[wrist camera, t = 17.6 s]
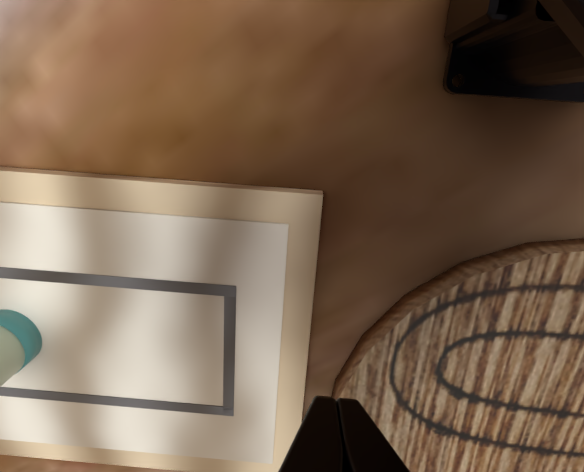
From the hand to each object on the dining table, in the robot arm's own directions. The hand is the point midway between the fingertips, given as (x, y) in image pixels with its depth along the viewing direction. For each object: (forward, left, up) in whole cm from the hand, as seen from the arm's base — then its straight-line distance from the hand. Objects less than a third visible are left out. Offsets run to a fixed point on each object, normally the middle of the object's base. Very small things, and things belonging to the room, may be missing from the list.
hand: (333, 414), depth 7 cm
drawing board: (+12, +7, -12) cm, 18 cm away
